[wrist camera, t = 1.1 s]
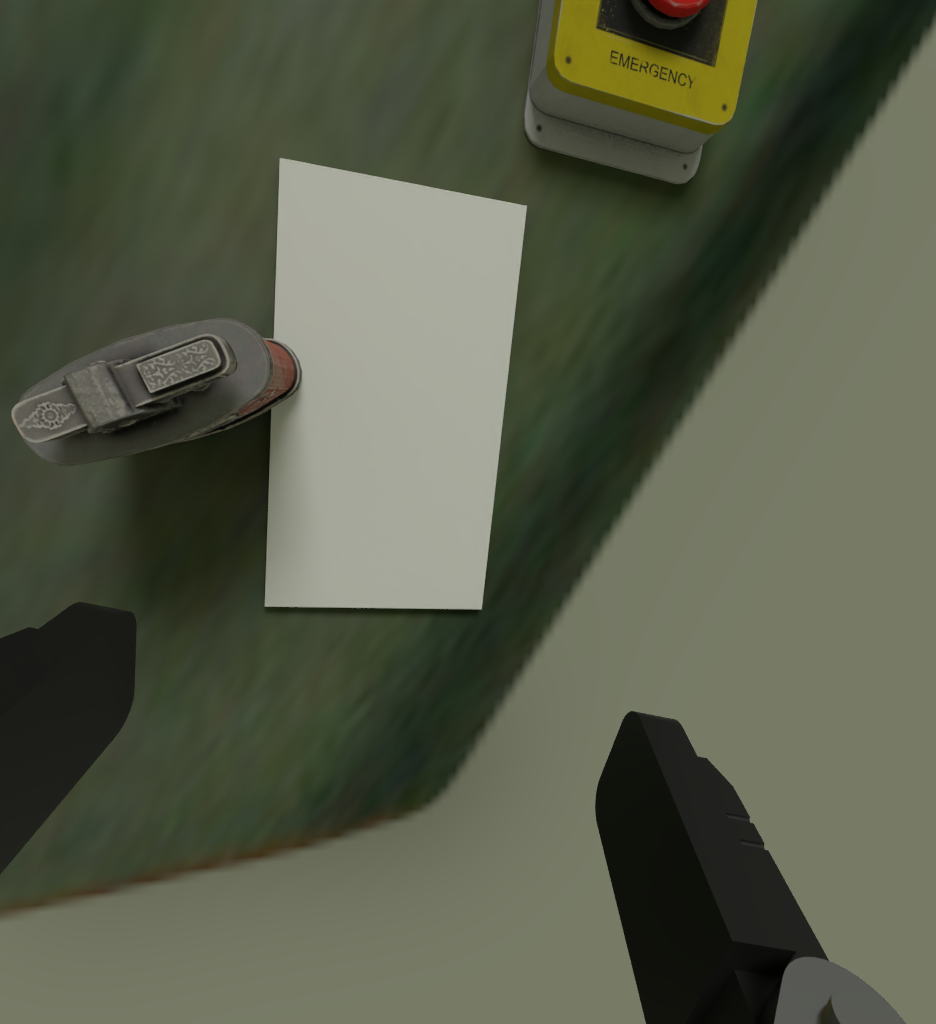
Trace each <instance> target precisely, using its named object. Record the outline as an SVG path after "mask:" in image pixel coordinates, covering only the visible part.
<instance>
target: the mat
mask: <svg viewBox="0 0 936 1024" xmlns="http://www.w3.org/2000/svg"><path fill="white" fill-rule="evenodd" d="M526 209H527V206H524V205H519V204H514V203H509V202H504V201H499V200H494V199H488V198H483V197H478V196H473V195H468V194H463V193H458V192H452V191H447V190H442V189H437V188H432V187H427V186H422V185H417V184H411V183H406V182H401V181H396V180H391V179H386V178H381V177H375V176H370V175H365V174H360V173H355V172H350V171H345V170H339V169H334V168H329V167H324V166H319V165H314V164H309V163H303V162H298V161H293V160H288V159H283V158H280V170H279V200H278V229H277V259H276V288H275V318H274V339H275V340H277V341H279V342H282V343H284V344H286V345H287V346H288V347H289V348H290V349H291V350H292V351H294V353H295V355H296V356H297V358H298V359H299V362H300V365H301V369H302V381H301V384H300V386H299V388H298V390H297V391H296V392H295V393H294V394H293V395H292V396H290V397H289V398H287V399H286V400H284V401H282V402H281V403H279V404H278V405H276V406H274V407H273V408H271V436H270V466H269V495H268V525H267V555H266V584H265V607H335V608H414V609H482V601H483V592H484V583H485V574H486V566H487V557H488V548H489V539H490V530H491V521H492V512H493V503H494V494H495V485H496V476H497V467H498V458H499V450H500V441H501V432H502V423H503V414H504V405H505V396H506V387H507V378H508V369H509V360H510V351H511V342H512V334H513V325H514V316H515V307H516V298H517V289H518V280H519V271H520V262H521V253H522V244H523V235H524V226H525V218H526Z"/></svg>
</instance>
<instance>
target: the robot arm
mask: <svg viewBox="0 0 936 1024" xmlns="http://www.w3.org/2000/svg"><path fill="white" fill-rule="evenodd" d="M135 655H136V619H135V616H134V614H133V613H131V612H129V611H124V610H119V609H114V608H108V607H103V606H98V605H93V604H88V603H83V602H78V603H75V604H73V605H71V606H69V607H68V608H67V609H65V610H64V611H63V612H61V613H60V614H58V615H57V616H56V617H54V618H53V619H52V620H50V621H49V622H48V623H46V624H45V625H43V626H42V627H41V628H39V629H35V628H30V627H28V628H26V629H23V630H21V631H18V632H16V633H13V634H10V635H8V636H5V637H3V638H0V874H1V873H2V872H3V870H4V869H5V868H6V867H7V866H8V864H9V863H10V862H11V861H12V860H13V859H14V857H15V856H16V855H17V854H18V853H19V851H20V850H21V849H22V848H23V847H24V845H25V844H26V843H27V842H28V841H29V839H30V838H31V837H32V836H33V835H34V833H35V832H36V831H37V830H38V829H39V827H40V826H41V825H42V824H43V823H44V821H45V820H46V819H47V818H48V817H49V815H50V814H51V813H52V812H53V811H54V809H55V808H56V807H57V806H58V805H59V803H60V802H61V801H62V800H63V799H64V798H65V796H66V795H67V794H68V793H69V792H70V790H71V789H72V788H73V787H74V786H75V784H76V783H77V782H78V781H79V780H80V778H81V777H82V776H83V775H84V774H85V772H86V771H87V770H88V769H89V768H90V766H91V765H92V764H93V763H94V762H95V760H96V759H97V758H98V757H99V756H100V754H101V753H102V752H103V751H104V750H105V748H106V747H107V746H108V745H109V744H110V743H111V741H112V740H113V739H114V738H115V737H116V735H117V734H118V733H119V731H120V730H121V728H122V726H123V725H124V723H125V721H126V719H127V717H128V714H129V712H130V709H131V706H132V702H133V697H134V686H135ZM595 808H596V809H595V810H596V821H597V825H598V829H599V834H600V837H601V842H602V845H603V850H604V854H605V858H606V862H607V866H608V870H609V874H610V878H611V882H612V887H613V891H614V895H615V899H616V903H617V907H618V911H619V915H620V919H621V923H622V927H623V931H624V935H625V940H626V944H627V948H628V952H629V956H630V960H631V964H632V968H633V972H634V976H635V980H636V984H637V988H638V993H639V996H640V1001H641V1005H642V1009H643V1012H644V1017H645V1021H646V1024H906V1023H905V1022H904V1020H903V1019H902V1018H901V1017H900V1016H899V1014H898V1013H897V1012H896V1011H895V1010H894V1009H893V1008H892V1007H891V1005H890V1004H889V1003H888V1002H887V1001H886V1000H885V999H884V998H883V997H882V996H881V995H879V993H877V992H876V991H875V990H874V989H873V988H872V987H871V986H869V985H868V984H867V983H865V982H864V981H863V980H862V979H860V978H859V977H858V976H856V975H854V974H853V973H851V972H850V971H848V970H847V969H844V968H843V967H841V966H839V965H837V964H835V963H833V962H830V961H829V960H828V958H827V956H826V954H825V953H824V951H823V949H822V947H821V945H820V944H819V942H818V940H817V938H816V936H815V934H814V933H813V931H812V929H811V927H810V925H809V924H808V922H807V920H806V918H805V916H804V915H803V913H802V911H801V909H800V907H799V905H798V904H797V902H796V900H795V898H794V896H793V895H792V893H791V891H790V889H789V887H788V885H787V884H786V882H785V880H784V878H783V876H782V875H781V873H780V871H779V869H778V867H777V865H776V864H775V862H774V860H773V858H772V856H771V855H770V853H769V851H768V850H765V849H764V842H763V840H762V838H761V836H760V835H759V833H758V831H757V829H756V827H755V825H754V824H753V823H750V821H749V818H750V816H749V815H748V813H747V811H746V809H745V808H744V805H743V804H742V802H741V800H740V798H739V796H738V795H737V793H736V791H735V790H734V788H733V786H732V785H731V784H730V783H729V782H728V781H727V779H726V778H725V777H724V776H723V775H722V774H721V773H720V772H719V771H718V770H717V769H716V768H715V767H714V766H713V765H712V764H711V762H710V761H709V760H708V759H707V758H702V757H697V755H696V753H695V751H694V749H693V747H692V745H691V743H690V741H689V739H688V737H687V735H686V733H685V731H684V729H683V727H682V725H681V724H680V723H679V722H678V721H677V720H675V719H670V718H664V717H660V716H654V715H649V714H644V713H639V712H634V711H631V712H629V713H627V715H626V716H625V717H624V719H623V722H622V724H621V726H620V729H619V731H618V734H617V736H616V739H615V741H614V744H613V747H612V749H611V752H610V754H609V757H608V759H607V762H606V764H605V767H604V769H603V772H602V775H601V777H600V780H599V783H598V787H597V792H596V804H595Z"/></svg>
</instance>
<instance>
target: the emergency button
mask: <svg viewBox="0 0 936 1024" xmlns="http://www.w3.org/2000/svg"><path fill="white" fill-rule="evenodd" d="M756 5H757V0H540V3H539V11H538V18H537V25H536V32H535V39H534V46H533V53H532V60H531V67H530V75H529V82H528V89H527V96H526V103H525V110H524V130H525V132H526V134H527V137H528V139H529V141H530V142H531V143H533V144H534V145H536V146H537V147H539V148H542V149H546V150H550V151H554V152H557V153H561V154H565V155H569V156H572V157H576V158H580V159H584V160H587V161H591V162H595V163H599V164H602V165H606V166H610V167H614V168H617V169H621V170H625V171H629V172H632V173H636V174H640V175H644V176H647V177H651V178H655V179H658V180H662V181H666V182H670V183H673V184H683V183H686V182H687V181H689V180H690V179H691V178H692V177H693V176H694V175H695V173H696V170H697V168H698V165H699V162H700V157H701V152H702V147H703V144H704V143H705V142H706V141H707V140H708V139H709V138H710V137H711V136H713V135H714V134H715V133H716V132H718V131H719V130H721V129H722V128H723V127H724V126H725V125H726V124H727V123H728V122H729V121H730V120H731V118H732V116H733V114H734V112H735V109H736V104H737V99H738V94H739V89H740V84H741V79H742V74H743V69H744V64H745V60H746V55H747V50H748V45H749V40H750V35H751V30H752V25H753V20H754V15H755V10H756Z"/></svg>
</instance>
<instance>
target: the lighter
mask: <svg viewBox="0 0 936 1024" xmlns="http://www.w3.org/2000/svg"><path fill="white" fill-rule="evenodd" d="M301 381H302V369H301V365H300V362H299V359H298V358H297V356H296V355H295V353H294V351H292V350H291V349H290V348H289V347H288V346H287V345H286V344H284V343H282V342H279V341H277V340H275V339H271V338H262V337H261V336H260V335H259V334H258V333H257V332H256V331H255V330H254V329H252V328H251V327H249V326H247V325H245V324H243V323H241V322H239V321H236V320H234V319H226V318H217V319H211V320H205V321H198V322H192V323H185V324H179V325H173V326H168V327H164V328H161V329H157V330H154V331H150V332H147V333H143V334H140V335H137V336H133V337H130V338H126V339H123V340H119V341H117V342H115V343H112V344H110V345H108V346H106V347H104V348H102V349H99V350H97V351H95V352H93V353H91V354H88V355H86V356H84V357H82V358H80V359H78V360H75V361H73V362H71V363H69V364H68V365H66V366H65V367H63V368H61V369H60V370H58V371H57V372H55V373H53V374H52V375H50V376H49V377H47V378H46V379H44V380H42V381H41V382H39V383H38V384H36V385H34V386H33V387H31V388H30V389H28V390H27V391H26V393H25V394H24V395H23V396H22V397H21V398H20V401H19V403H18V404H16V405H15V406H14V408H13V409H12V419H13V421H14V424H15V426H16V427H17V429H18V431H19V432H20V434H21V436H22V438H23V440H24V441H25V442H26V444H27V445H28V446H29V447H30V449H31V450H32V451H33V452H34V453H36V454H37V455H38V456H40V457H41V458H42V459H44V460H45V461H48V462H51V463H54V464H56V465H59V466H74V465H80V464H85V463H91V462H96V461H102V460H108V459H113V458H119V457H124V456H128V455H132V454H135V453H139V452H142V451H145V450H151V449H156V448H160V447H164V446H167V445H170V444H174V443H179V442H185V441H190V440H194V439H198V438H201V437H205V436H208V435H211V434H215V433H218V432H221V431H225V430H228V429H231V428H233V427H236V426H238V425H240V424H242V423H244V422H246V421H248V420H250V419H253V418H255V417H257V416H259V415H261V414H263V413H265V412H267V411H268V410H270V409H271V408H273V407H274V406H276V405H278V404H279V403H281V402H282V401H284V400H286V399H287V398H289V397H290V396H292V395H293V394H294V393H295V392H296V391H297V390H298V388H299V386H300V384H301Z"/></svg>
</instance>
